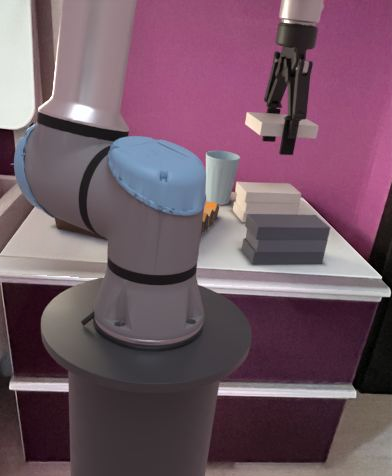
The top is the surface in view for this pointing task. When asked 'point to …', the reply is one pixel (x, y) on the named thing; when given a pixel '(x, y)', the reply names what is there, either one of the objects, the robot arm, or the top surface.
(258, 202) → the white books
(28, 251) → the top surface
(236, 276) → the top surface
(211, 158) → the cup
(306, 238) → the grey books
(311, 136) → the white book
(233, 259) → the top surface
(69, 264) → the top surface
